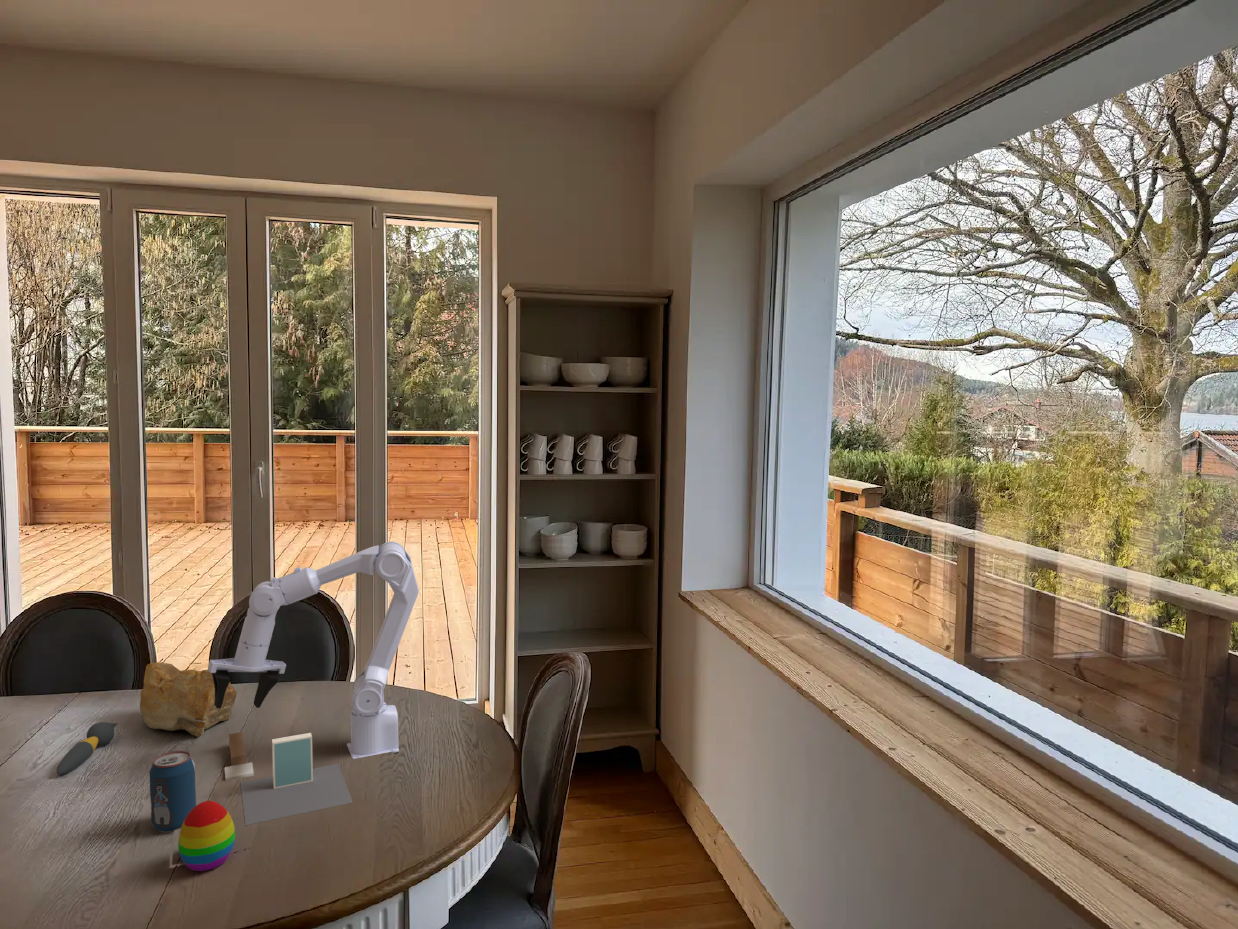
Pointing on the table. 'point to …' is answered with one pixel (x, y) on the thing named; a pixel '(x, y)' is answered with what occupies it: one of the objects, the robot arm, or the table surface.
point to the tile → (292, 760)
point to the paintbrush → (87, 746)
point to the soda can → (172, 790)
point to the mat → (294, 795)
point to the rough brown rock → (182, 699)
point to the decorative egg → (206, 836)
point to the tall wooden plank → (237, 759)
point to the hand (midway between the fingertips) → (237, 706)
